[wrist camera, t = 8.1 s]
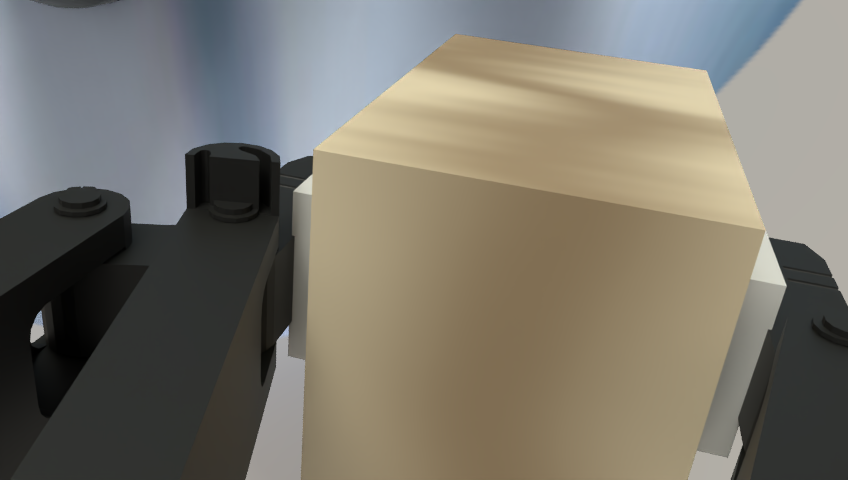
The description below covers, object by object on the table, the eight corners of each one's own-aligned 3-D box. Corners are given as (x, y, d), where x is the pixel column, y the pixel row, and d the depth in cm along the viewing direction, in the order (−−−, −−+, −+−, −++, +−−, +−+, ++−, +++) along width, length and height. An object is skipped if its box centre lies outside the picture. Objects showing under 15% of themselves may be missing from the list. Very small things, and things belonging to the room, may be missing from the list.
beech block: (431, 251, 18) (301, 481, 11) (455, 34, 16) (313, 149, 9) (649, 294, 17) (657, 574, 10) (706, 70, 15) (765, 230, 8)
